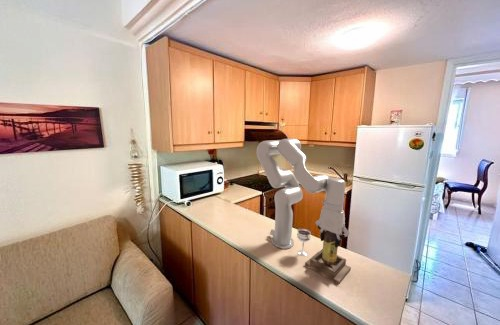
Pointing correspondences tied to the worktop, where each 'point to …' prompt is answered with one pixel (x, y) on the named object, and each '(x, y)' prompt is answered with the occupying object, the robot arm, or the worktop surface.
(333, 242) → the sauce bottle
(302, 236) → the wineglass
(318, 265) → the caddy
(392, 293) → the worktop surface
